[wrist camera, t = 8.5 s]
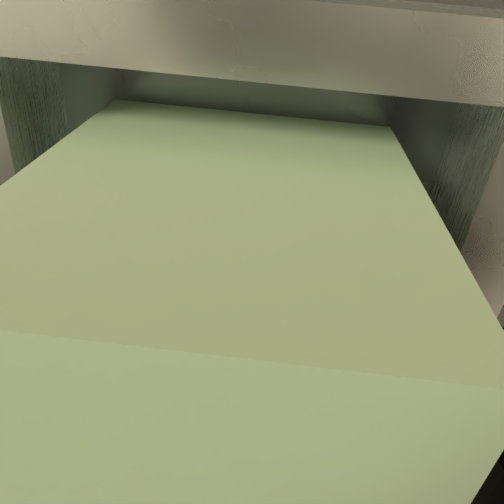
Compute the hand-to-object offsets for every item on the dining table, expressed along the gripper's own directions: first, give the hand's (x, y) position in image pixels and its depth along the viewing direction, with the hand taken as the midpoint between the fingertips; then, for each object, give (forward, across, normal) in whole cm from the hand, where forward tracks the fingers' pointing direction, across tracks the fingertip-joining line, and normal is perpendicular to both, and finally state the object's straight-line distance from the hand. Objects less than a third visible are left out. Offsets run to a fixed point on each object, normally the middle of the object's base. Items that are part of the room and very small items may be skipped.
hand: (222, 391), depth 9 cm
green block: (+2, 0, 0) cm, 2 cm away
